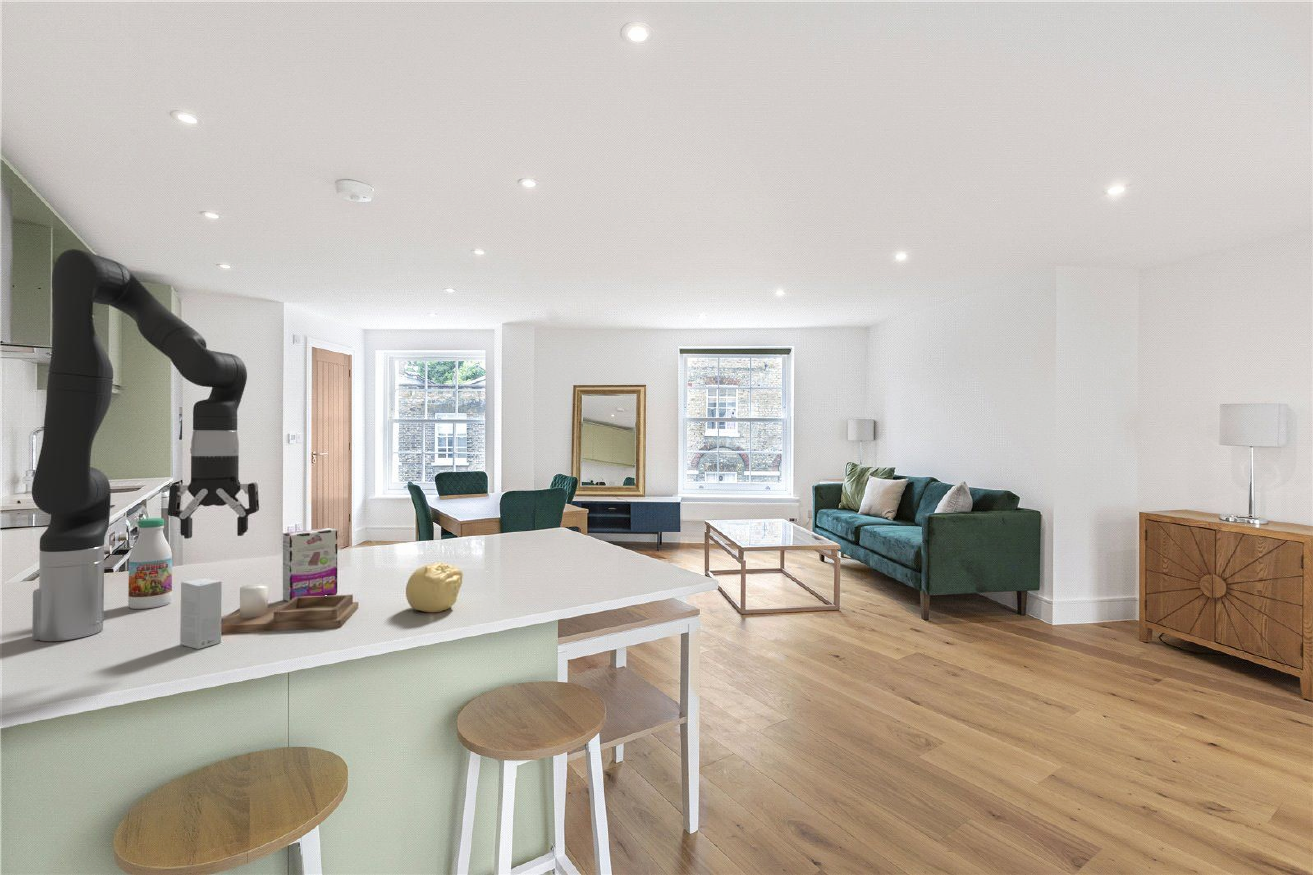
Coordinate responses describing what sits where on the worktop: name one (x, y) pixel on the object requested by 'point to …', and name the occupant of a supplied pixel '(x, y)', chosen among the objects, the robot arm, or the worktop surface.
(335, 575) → the candy bar box
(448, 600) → the sculpture
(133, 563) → the milk bottle
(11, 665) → the worktop surface
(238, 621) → the walnut organizer
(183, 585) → the skincare box
